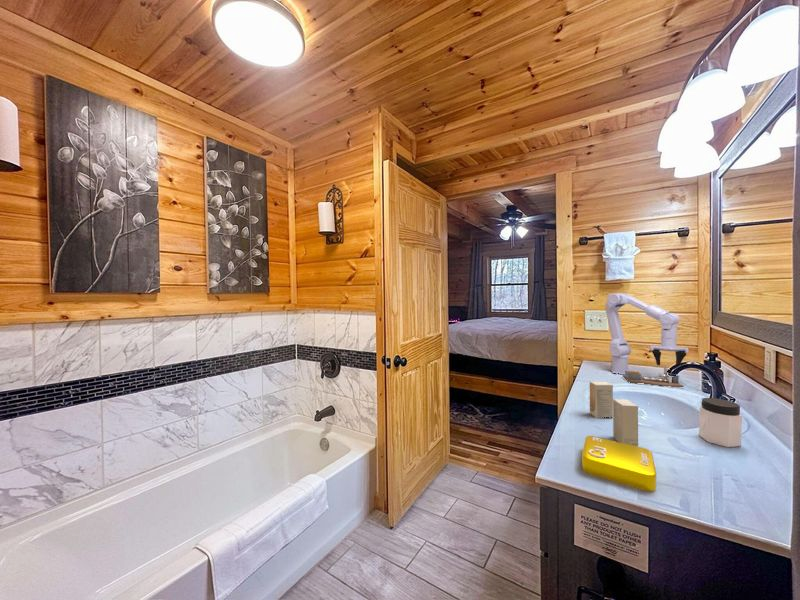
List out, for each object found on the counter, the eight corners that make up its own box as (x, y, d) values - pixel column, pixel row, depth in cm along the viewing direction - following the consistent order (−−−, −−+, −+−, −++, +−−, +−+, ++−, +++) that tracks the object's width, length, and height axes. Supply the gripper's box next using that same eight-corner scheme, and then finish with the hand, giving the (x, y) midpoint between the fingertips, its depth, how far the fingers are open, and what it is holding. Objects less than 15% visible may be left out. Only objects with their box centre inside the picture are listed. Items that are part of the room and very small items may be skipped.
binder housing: (625, 376, 160) (625, 369, 160) (637, 377, 158) (637, 370, 158) (628, 379, 155) (628, 372, 155) (640, 380, 153) (641, 373, 153)
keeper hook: (656, 379, 155) (656, 371, 155) (674, 381, 152) (674, 372, 152) (660, 382, 151) (660, 373, 151) (678, 383, 148) (678, 375, 148)
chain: (641, 377, 158) (641, 366, 158) (666, 379, 154) (666, 367, 154) (645, 380, 152) (646, 369, 152) (671, 383, 149) (672, 371, 148)
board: (622, 376, 163) (622, 375, 163) (672, 381, 156) (672, 379, 156) (629, 383, 152) (629, 381, 152) (683, 388, 145) (683, 386, 145)
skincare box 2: (638, 447, 91) (639, 406, 91) (621, 445, 92) (622, 405, 92) (627, 437, 97) (628, 399, 97) (611, 435, 98) (612, 398, 98)
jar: (694, 432, 101) (695, 395, 100) (726, 436, 98) (728, 398, 97) (710, 445, 92) (711, 405, 92) (746, 450, 89) (748, 409, 89)
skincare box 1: (606, 413, 116) (607, 381, 115) (613, 418, 111) (614, 384, 111) (588, 413, 116) (589, 380, 116) (594, 417, 112) (595, 384, 111)
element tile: (657, 495, 70) (657, 475, 70) (580, 473, 79) (581, 455, 79) (651, 465, 83) (651, 447, 83) (585, 448, 91) (586, 432, 91)
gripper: (653, 338, 150) (652, 366, 150) (692, 340, 144) (691, 369, 145) (648, 336, 156) (647, 362, 157) (684, 337, 151) (683, 365, 152)
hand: (667, 365), depth 151 cm, fingers open, 7 cm apart
